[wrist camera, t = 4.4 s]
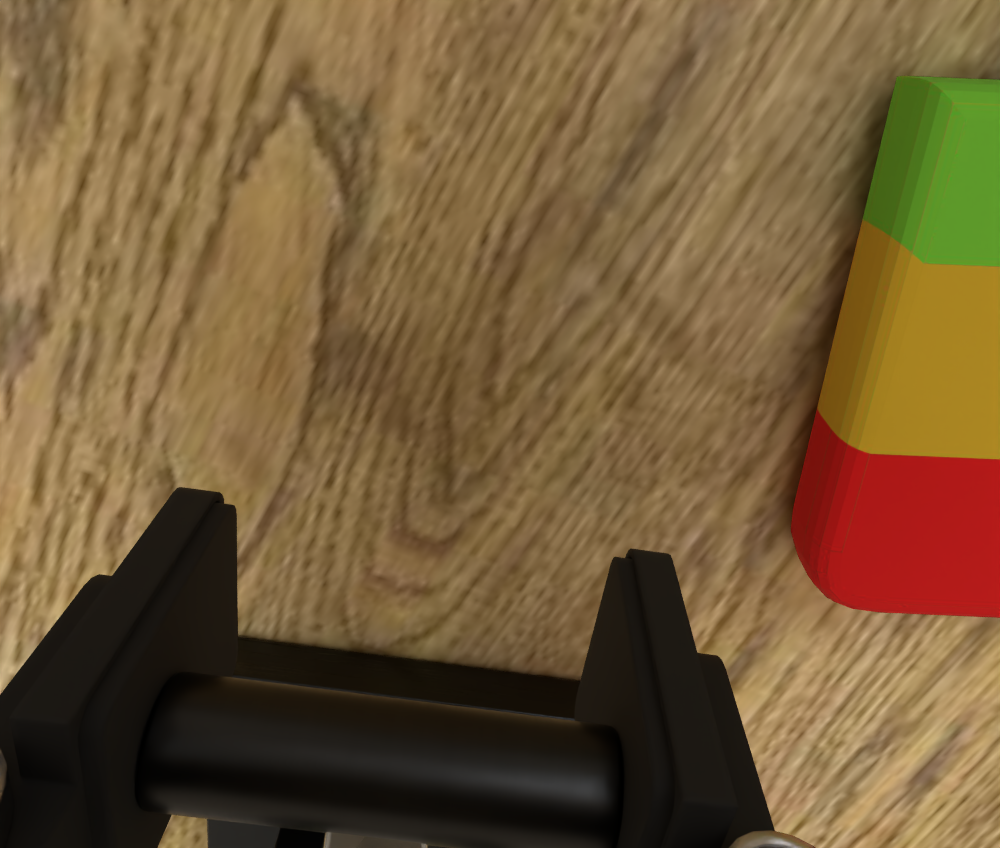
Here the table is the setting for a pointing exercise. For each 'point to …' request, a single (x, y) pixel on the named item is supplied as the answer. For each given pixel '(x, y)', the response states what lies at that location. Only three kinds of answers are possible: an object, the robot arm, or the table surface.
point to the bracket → (385, 677)
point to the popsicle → (915, 373)
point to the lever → (378, 767)
